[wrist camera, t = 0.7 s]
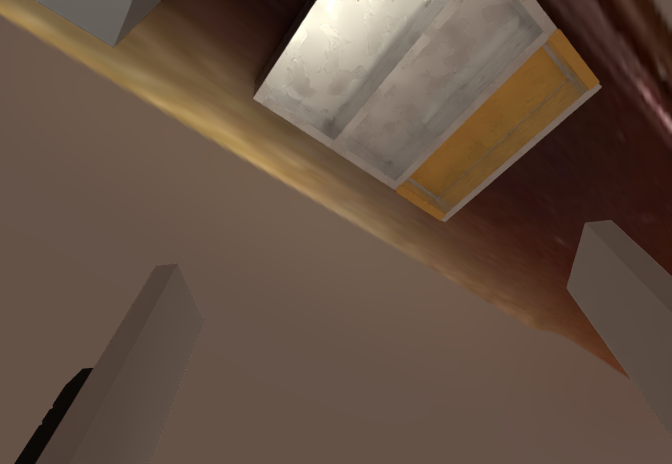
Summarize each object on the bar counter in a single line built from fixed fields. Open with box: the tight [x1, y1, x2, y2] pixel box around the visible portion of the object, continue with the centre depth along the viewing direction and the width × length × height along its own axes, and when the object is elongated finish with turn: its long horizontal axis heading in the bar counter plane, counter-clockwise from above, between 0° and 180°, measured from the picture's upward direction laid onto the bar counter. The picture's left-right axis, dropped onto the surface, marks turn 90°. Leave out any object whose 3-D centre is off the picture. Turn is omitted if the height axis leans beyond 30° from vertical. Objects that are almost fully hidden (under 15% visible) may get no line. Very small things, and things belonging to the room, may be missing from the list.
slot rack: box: [253, 0, 601, 222], centre depth 34 cm, size 24×19×4 cm
